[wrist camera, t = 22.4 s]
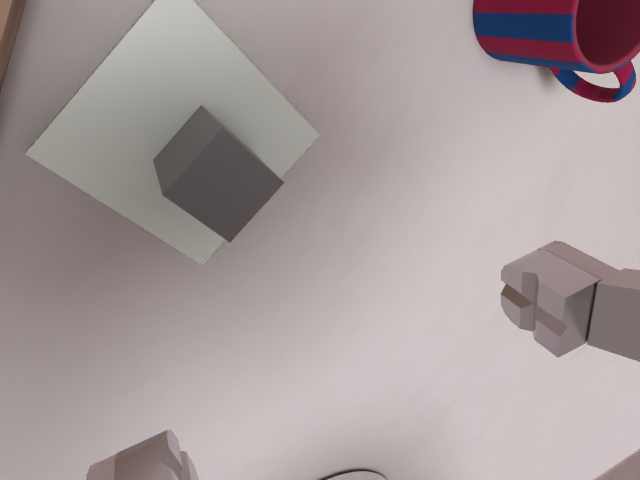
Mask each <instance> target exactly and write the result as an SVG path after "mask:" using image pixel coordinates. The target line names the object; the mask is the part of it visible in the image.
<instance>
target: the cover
mask: <svg viewBox="0 0 640 480" xmlns="http://www.w3.org/2000/svg"><path fill="white" fill-rule="evenodd" d="M319 135H320V134H319V133H318V132H317V131H316V130H315V129H314V128H313V127H312V126H311V125H310V124H309V122H308V121H307V120H306V119H305V118H304V117H303V116H302V115H301V114H300V113H299V112H298V111H297V110H296V109H295V108H294V107H293V106H292V104H291V103H290V102H289V101H288V100H287V99H286V98H285V97H284V96H283V95H282V94H281V93H280V92H279V91H278V90H277V89H276V87H275V86H274V85H273V84H272V83H271V82H270V81H269V80H268V79H267V78H266V77H265V76H264V75H263V74H262V73H261V72H260V71H259V69H258V68H257V67H256V66H255V65H254V64H253V63H252V62H251V61H250V60H249V59H248V58H247V57H246V56H245V55H244V54H243V52H242V51H241V50H240V49H239V48H238V47H237V46H236V45H235V44H234V43H233V42H232V41H231V40H230V39H229V38H228V37H227V35H226V34H225V33H224V32H223V31H222V30H221V29H220V28H219V27H218V26H217V25H216V24H215V23H214V22H213V21H212V20H211V19H210V17H209V16H208V15H207V14H206V13H205V12H204V11H203V10H202V9H201V8H200V7H199V6H198V5H197V4H196V3H195V2H194V0H154V1H153V2H152V3H151V5H150V6H149V7H148V8H147V9H146V10H145V12H144V13H143V14H142V15H141V16H140V18H139V19H138V20H137V21H136V22H135V23H134V25H133V26H132V27H131V28H130V29H129V31H128V32H127V33H126V34H125V35H124V36H123V38H122V39H121V40H120V41H119V42H118V44H117V45H116V46H115V47H114V48H113V49H112V51H111V52H110V53H109V54H108V55H107V57H106V58H105V59H104V60H103V61H102V62H101V64H100V65H99V66H98V67H97V68H96V70H95V71H94V72H93V73H92V74H91V75H90V77H89V78H88V79H87V80H86V81H85V83H84V84H83V85H82V86H81V87H80V88H79V90H78V91H77V92H76V93H75V94H74V96H73V97H72V98H71V99H70V100H69V101H68V103H67V104H66V105H65V106H64V107H63V109H62V110H61V111H60V112H59V113H58V114H57V116H56V117H55V118H54V119H53V120H52V121H51V123H50V124H49V125H48V126H47V127H46V129H45V130H44V131H43V132H42V133H41V134H40V136H39V137H38V138H37V139H36V140H35V142H34V143H33V144H32V145H31V146H30V147H29V149H28V150H27V152H26V153H25V155H27V156H29V157H30V158H32V159H33V160H35V161H36V162H38V163H40V164H41V165H43V166H44V167H46V168H48V169H49V170H51V171H52V172H54V173H56V174H57V175H59V176H60V177H62V178H63V179H65V180H67V181H68V182H70V183H71V184H73V185H75V186H76V187H78V188H79V189H81V190H83V191H84V192H86V193H87V194H89V195H91V196H92V197H94V198H95V199H97V200H98V201H100V202H102V203H103V204H105V205H106V206H108V207H110V208H111V209H113V210H114V211H116V212H118V213H119V214H121V215H122V216H124V217H125V218H127V219H129V220H130V221H132V222H133V223H135V224H137V225H138V226H140V227H141V228H143V229H145V230H146V231H148V232H149V233H151V234H152V235H154V236H156V237H157V238H159V239H160V240H162V241H164V242H165V243H167V244H168V245H170V246H172V247H173V248H175V249H176V250H178V251H179V252H181V253H183V254H184V255H186V256H187V257H189V258H191V259H192V260H194V261H195V262H197V263H199V264H200V265H203V264H204V263H205V262H206V261H207V260H208V259H209V257H210V256H211V255H212V254H213V253H214V252H215V251H216V250H217V249H218V247H219V246H220V245H221V244H222V243H223V242H224V241H225V240H227V241H228V242H231V241H232V240H233V239H234V237H235V236H236V235H237V234H238V233H239V232H240V231H241V230H242V229H243V227H244V226H245V225H246V224H247V223H248V222H249V221H250V220H251V219H252V218H253V216H254V215H255V214H256V213H257V212H258V211H259V210H260V209H261V208H262V206H263V205H264V204H265V203H266V202H267V201H268V200H269V199H270V198H271V196H272V195H273V194H274V193H275V192H276V191H277V190H278V189H279V188H280V186H281V185H282V184H283V183H284V182H283V181H282V180H281V178H282V176H283V175H284V174H285V173H286V172H287V171H288V170H289V169H290V168H291V166H292V165H293V164H294V163H295V162H296V161H297V160H298V159H299V158H300V156H301V155H302V154H303V153H304V152H305V151H306V150H307V149H308V148H309V147H310V145H311V144H312V143H313V142H314V141H315V140H316V139H317V138H318V137H319Z"/></svg>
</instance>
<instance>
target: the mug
mask: <svg viewBox="0 0 640 480" xmlns="http://www.w3.org/2000/svg"><path fill="white" fill-rule="evenodd" d="M474 25H475V31H476V34H477V37H478V40H479V42H480V44H481V46H482V47H483V49H484V50H485V51H486V52H487V53H488V54H489V55H490V56H492V57H493V58H495V59H498V60H501V61H508V62H516V63H523V64H530V65H538V66H545V67H549V68H550V70H551V71H552V72H553V74H554V75H555V77H556V78H557V79H558V80H559V81H560V82H561V83H562V84H563V85H564V86H565V87H566V88H568V89H569V90H570V91H572V92H573V93H575V94H577V95H579V96H581V97H584V98H587V99H590V100H593V101H598V102H606V103H609V102H616V101H619V100H621V99H622V98H624V97H625V96H626V95H628V94H629V93H630V92H631V90H632V89H633V88H634V86H635V83H636V74H635V70H634V67H633V64H632V62H631V60H632V59H633V58H634V57H635V56H636V55H637V54H638V53H639V52H640V0H475V3H474ZM573 70H574V71H581V72H588V73H596V74H604V73H610V72H612V71H613V72H614V74H615V75H616V77H617V78H618V80H619V83H620V88H604V87H600V86H597V85H593V84H591V83H589V82H587V81H585V80H584V79H582V78H581V77H579V76H578V75H577V74H576V73H575V72H574V71H573Z"/></svg>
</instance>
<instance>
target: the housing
mask: <svg viewBox="0 0 640 480" xmlns="http://www.w3.org/2000/svg"><path fill="white" fill-rule="evenodd" d="M25 3H26V0H0V90H1V87H2V83H3V80H4V76H5V73H6V69H7V66H8V62H9V59H10V55H11V52H12V48H13V45H14V41H15V38H16V34H17V31H18V27H19V24H20V20H21V17H22V13H23V10H24V6H25Z"/></svg>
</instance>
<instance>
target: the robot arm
mask: <svg viewBox="0 0 640 480" xmlns="http://www.w3.org/2000/svg"><path fill="white" fill-rule="evenodd" d="M501 280H502V281H503V282H504V283H505V284H506V285H505V287H504V289H503V291H502V292H501V305H502V308H503V310H504V312H505V314H506V316H507V317H508V318H509V319H510V320H511V322H513V323H514V324H515V325H516V326H518V327H519V328H520V329H525V330H529V331H532V332H533V336H534V339H535V341H537V342H538V343H539V344H541V345H542V346H543V347H544V348H546V349H547V350H548V351H550V352H551V353H552V354H554V355H555V356H556V357H557V358H558V357H560V356H562V355H564V354H566V353H568V352H570V351H572V350H574V349H576V348H577V347H579V346H581V345H583V344H585V343H587V342H588V343H587V345H590V346H593V347H597V348H600V349H603V350H606V351H609V352H612V353H615V354H618V355H621V356H624V357H627V358H630V359H633V360H636V361H639V362H640V270H633V269H626V268H624V269H622V270H620V271H619V270H617V269H615V268H613V267H611V266H609V265H607V264H605V263H603V262H601V261H599V260H597V259H595V258H593V257H591V256H589V255H587V254H585V253H583V252H582V251H580V250H578V249H576V248H574V247H572V246H570V245H568V244H566V243H564V242H561V241H553V242H551V243H549V244H547V245H545V246H543V247H541V248H539V249H538V250H535V251H533V252H531V253H529V254H527V255H525V256H523V257H521V258H519V259H517V260H515V261H513V262H511V263H509V264H507V265H505V266H504V267H503V269H502V271H501ZM87 480H199V479H198V476H197V473H196V470H195V467H194V465H193V463H192V461H191V459H190V457H189V456H188V454H187V453H186V452H184V451H180V449H179V443H178V439H177V437H176V436H175V435H174V433H173V432H172V430H166V431H164V432H162V433H160V434H158V435H155V436H153V437H151V438H149V439H147V440H144V441H142V442H140V443H138V444H136V445H134V446H131V447H129V448H127V449H125V450H123V451H120V452H118V453H117V454H115V455H113V456H111V457H108V458H106V459H104V460H102V461H100V462H98V463H95V464H93V465H91V466H90V469H89V471H88V474H87ZM327 480H386V479H385V478H384V477H383V476H381V475H379V474H377V473H373V472H367V471H359V472H351V473H346V474H342V475H338V476H335V477H332V478H329V479H327ZM594 480H640V449H639V450H638V451H636V452H635V453H633V454H632V455H630V456H629V457H627V458H626V459H624V460H623V461H621V462H620V463H618V464H617V465H615V466H614V467H612V468H611V469H609V470H608V471H606V472H605V473H603V474H602V475H600V476H599V477H597V478H596V479H594Z"/></svg>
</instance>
